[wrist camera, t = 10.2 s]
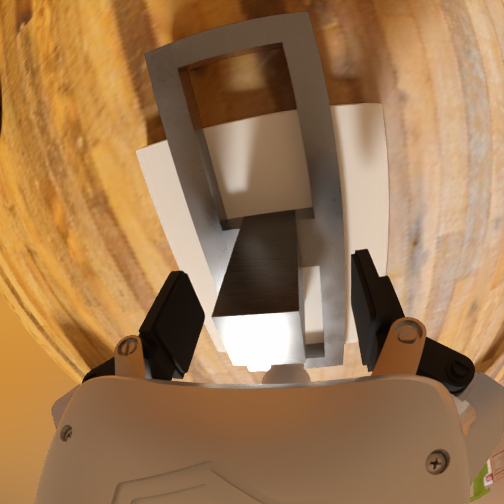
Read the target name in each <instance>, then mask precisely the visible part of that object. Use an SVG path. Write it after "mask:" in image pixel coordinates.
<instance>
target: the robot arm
mask: <svg viewBox="0 0 504 504" xmlns="http://www.w3.org/2000/svg"><path fill="white" fill-rule="evenodd" d="M351 307H352V312H353V316H354V321H355V326H356V331H357V336H358V342H359V347H360V353H361V358H362V364H363V365H367V368H368V372H370V371H373V372H372V374H371V376H365V377H357V378H349V379H340V380H329V381H318V382H305V383H288V384H209V383H192V382H178V381H171V380H172V377H173V378H177V379H183V377H184V374H185V373H187V372H188V369H189V366H190V363H191V360H192V357H193V354H194V351H195V348H196V344H197V341H198V338H199V335H200V332H201V329H202V326H203V323H204V320H205V313H204V310H203V308H202V306H201V304H200V301H199V299H198V297H197V295H196V292H195V290H194V288H193V285H192V283H191V281H190V278H189V276H188V274H187V273H184V271H182V270H181V271H172V272H171V273H170V274H169V276H168V278H167V279H166V281H165V283H164V285H163V287H162V288H161V290H160V292H159V294H158V296H157V297H156V299H155V301H154V303H153V305H152V307H151V308H150V310H149V312H148V314H147V316H146V318H145V320H144V322H143V324H142V325H141V327H140V329H139V332H140V334H139V336H136V335H130V336H127V337H125V338H123V339H122V340H120V341H119V343H118V344H117V345H116V347H115V357H113V358H111V359H110V360H108V361H106V362H105V363H103V364H101V365H100V366H98V367H96V368H95V369H93V370H91V371H90V372H89V373H87V374H86V376H85V377H84V379H83V381H82V384H81V385H80V384H79V385H78V386H76V387H75V388H73V389H72V390H71V391H69V392H68V393H67V394H65V395H64V396H63V397H61V398H60V399H58V400H57V401H56V402H55V403H54V405H53V406H52V410H51V411H52V416H53V420H54V423H55V426H56V429H57V430H56V432H55V435H54V437H53V440H52V442H51V445H50V448H49V450H48V454H47V457H46V460H45V463H44V466H43V469H42V473H41V477H40V480H39V484H38V488H37V493H36V497H35V502H34V504H470V485H471V484H472V483H473V481H474V480H475V479H476V477H477V476H478V474H479V473H480V471H481V470H482V469H483V467H484V466H485V464H486V463H487V461H488V459H489V458H490V456H491V455H492V453H493V451H494V450H495V448H496V446H497V445H498V443H499V441H500V439H501V438H502V436H503V434H504V387H503V386H502V385H500V384H499V383H497V382H496V381H495V380H493V379H492V378H490V377H489V376H487V375H486V374H484V373H483V372H481V373H480V374H479V373H477V372H476V371H475V367H474V365H473V362H472V361H471V360H470V359H469V358H468V357H466V356H465V355H462V354H460V353H458V352H456V351H454V350H452V349H450V348H448V347H446V346H444V345H442V344H440V343H438V342H436V341H434V340H432V339H430V338H428V337H426V328H425V326H424V325H423V323H422V322H420V321H419V320H418V319H415V318H411V317H405V315H404V313H403V310H402V308H401V305H400V303H399V300H398V298H397V295H396V293H395V290H394V288H393V285H392V283H391V281H390V279H389V277H388V276H381V277H379V275H378V272H377V270H376V267H375V265H374V263H373V260H372V258H371V255H370V253H369V251H368V249H361V250H355V254H351ZM428 455H429V456H428ZM437 459H438V460H437Z"/></svg>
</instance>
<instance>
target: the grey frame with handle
mask: <svg viewBox="0 0 504 504" xmlns="http://www.w3.org/2000/svg"><path fill="white" fill-rule="evenodd" d="M278 48H283V51H284V55H285V59H286V63H287V67H288V71H289V76H290V80H291V85H292V89H293V94H294V99H295V104H296V109H297V114H298V119H299V124H300V130H301V135H302V141H303V147H304V152H305V159H306V165H307V171H308V178H309V185H310V192H311V199H312V207H309V208H301V209H294V210H286V211H279V212H272V213H265V214H258V215H251V216H244V217H237V218H231V219H227V215H226V212H225V208H224V205H223V201H222V197H221V194H220V190H219V186H218V183H217V179H216V175H215V172H214V168H213V164H212V161H211V157H210V153H209V150H208V146H207V142H206V138H205V135H204V131H203V127H202V123H201V119H200V116H199V112H198V108H197V104H196V100H195V96H194V92H193V89H192V85H191V81H190V77H189V73H188V70H190V69H193V68H196V67H200V66H203V65H206V64H210V63H213V62H217V61H221V60H224V59H228V58H232V57H237V56H241V55H246V54H250V53H255V52H260V51H266V50H272V49H278ZM145 59H146V63H147V67H148V71H149V75H150V79H151V83H152V87H153V91H154V95H155V99H156V102H157V106H158V110H159V113H160V117H161V121H162V124H163V128H164V131H165V135H166V138H167V142H168V145H169V148H170V152H171V155H172V158H173V162H174V165H175V168H176V172H177V175H178V178H179V181H180V184H181V188H182V191H183V194H184V197H185V200H186V203H187V206H188V209H189V212H190V215H191V218H192V221H193V224H194V227H195V230H196V233H197V236H198V239H199V242H200V244H201V247H202V250H203V253H204V256H205V259H206V261H207V264H208V267H209V270H210V272H211V275H212V278H213V281H214V283H215V286H216V289H217V291H218V297H217V300H216V303H215V307H214V310H213V313H212V316H211V318H212V320H213V322H214V325H215V327H216V329H217V331H218V334H219V336H220V338H221V340H222V342H223V344H224V347H225V349H226V351H227V353H228V355H229V357H230V359H231V361H232V363H233V366H245V365H247V367H248V369H249V371H268V370H269V369H270V366H271V365H277V364H294V363H304V369H306V368H318V367H328V366H337V365H343V353H344V334H345V241H344V222H343V207H342V195H341V184H340V174H339V165H338V156H337V148H336V141H335V134H334V127H333V121H332V115H331V109H330V103H329V97H328V92H327V87H326V82H325V77H324V72H323V68H322V63H321V59H320V55H319V51H318V46H317V43H316V39H315V35H314V31H313V27H312V24H311V20H310V17H309V13H308V12H297V13H288V14H280V15H274V16H267V17H262V18H256V19H251V20H246V21H242V22H237V23H233V24H229V25H225V26H221V27H217V28H214V29H210V30H207V31H204V32H201V33H197V34H194V35H191V36H188V37H185V38H183V39H180V40H177V41H174V42H172V43H169V44H167V45H164V46H162V47H159V48H157V49H154V50H152V51H150V52H148V53H145ZM313 266H319V272H320V285H321V299H322V315H323V335H324V343H315V344H306V342H305V308H304V285H303V268H304V267H313Z"/></svg>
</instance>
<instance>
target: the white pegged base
mask: <svg viewBox="0 0 504 504" xmlns="http://www.w3.org/2000/svg"><path fill="white" fill-rule="evenodd" d="M330 109H331V115H332V121H333V127H334V134H335V141H336V148H337V156H338V165H339V174H340V184H341V195H342V207H343V222H344V241H345V334H344V344H347V343H355V342H358V336H357V331H356V326H355V321H354V316H353V312H352V307H351V254H355V250H361V249H368V251H369V253H370V255H371V258H372V260H373V263H374V265H375V267H376V270H377V272H378V275H379V277H381V276H385V274H386V262H387V247H388V221H389V188H388V162H387V148H386V136H385V126H384V117H383V110H382V104H380V103H354V104H340V105H330ZM203 131H204V135H205V138H206V142H207V146H208V150H209V153H210V157H211V161H212V164H213V168H214V172H215V175H216V179H217V183H218V186H219V190H220V194H221V197H222V201H223V205H224V208H225V212H226V215H227V219H231V218H237V217H244V216H251V215H258V214H265V213H272V212H279V211H286V210H294V209H301V208H309V207H312V199H311V192H310V185H309V178H308V171H307V165H306V159H305V152H304V147H303V141H302V135H301V130H300V124H299V119H298V114H297V109H295V110H288V111H282V112H276V113H270V114H264V115H259V116H254V117H249V118H244V119H239V120H235V121H230V122H226V123H222V124H218V125H214V126H210V127H206V128H203ZM136 154H137V157H138V160H139V163H140V166H141V169H142V172H143V175H144V178H145V181H146V184H147V187H148V190H149V192H150V195H151V198H152V201H153V203H154V206H155V209H156V211H157V214H158V217H159V219H160V222H161V225H162V227H163V230H164V232H165V235H166V237H167V240H168V242H169V245H170V247H171V250H172V252H173V255H174V257H175V259H176V262H177V264H178V266H179V269H180V271H181V270H182V271H184V273H187V274H188V276H189V278H190V281H191V283H192V285H193V288H194V290H195V292H196V295H197V297H198V299H199V301H200V304H201V306H202V308H203V310H204V313H205V320H204V324H205V326H206V328H207V330H208V332H209V334H210V336H211V338H212V340H213V342H214V344H215V346H216V348H217V350H218V352H227V351H226V349H225V347H224V344H223V342H222V340H221V338H220V336H219V334H218V331H217V329H216V327H215V325H214V322H213V320H212V318H211V316H212V313H213V310H214V307H215V303H216V300H217V297H218V291H217V289H216V286H215V283H214V281H213V278H212V275H211V272H210V270H209V267H208V264H207V261H206V259H205V256H204V253H203V250H202V247H201V244H200V242H199V239H198V236H197V233H196V230H195V227H194V224H193V221H192V218H191V215H190V212H189V209H188V206H187V203H186V200H185V197H184V194H183V191H182V188H181V184H180V181H179V178H178V175H177V172H176V168H175V165H174V162H173V158H172V155H171V152H170V148H169V145H168V142H167V139H165V140H162V141H159V142H156V143H153V144H150V145H147V146H145V147H143V148H141V149H139V150H136ZM303 285H304V308H305V342H306V344H315V343H324V335H323V315H322V299H321V285H320V272H319V266H313V267H304V268H303ZM305 382H311V380H310V377H309V375H308V373H307V372H306V370H305V369H304V363H294V364H277V365H271V366H270V369H269V370H268V371H267V372H266V374H265V375H264V377H263V380H262V384H288V383H305Z"/></svg>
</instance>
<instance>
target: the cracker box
mask: <svg viewBox="0 0 504 504" xmlns="http://www.w3.org/2000/svg"><path fill="white" fill-rule="evenodd" d="M487 465H488V474H486V477H484V486H486V485H489V484H491V483H494V482H496V481H497V480H499V479H501V478H503V477H504V435H503V436H502V438H501V439H500V441H499V443H498V445H497V446H496V448H495V450H494V451H493V453H492V455H491V456H490V458H489V459H488V461H487Z"/></svg>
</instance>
